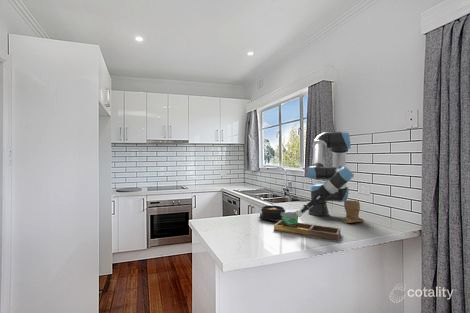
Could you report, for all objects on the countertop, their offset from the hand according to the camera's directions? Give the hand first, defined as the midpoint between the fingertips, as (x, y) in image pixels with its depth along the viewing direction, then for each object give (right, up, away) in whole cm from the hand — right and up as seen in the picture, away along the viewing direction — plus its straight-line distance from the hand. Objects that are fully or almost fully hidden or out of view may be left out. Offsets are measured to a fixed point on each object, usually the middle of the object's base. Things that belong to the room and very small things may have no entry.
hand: (300, 212), depth 148 cm
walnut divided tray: (+3, -11, 0) cm, 12 cm away
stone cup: (+42, -12, +26) cm, 51 cm away
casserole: (-12, -11, +30) cm, 34 cm away
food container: (-5, -10, +3) cm, 12 cm away
